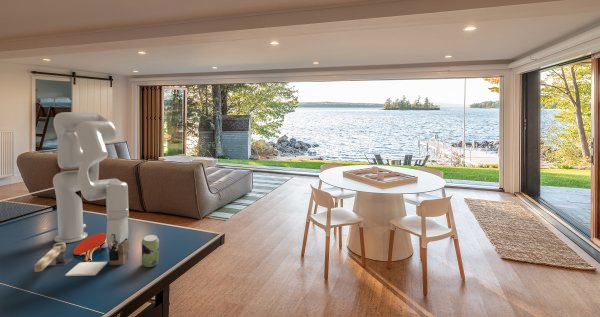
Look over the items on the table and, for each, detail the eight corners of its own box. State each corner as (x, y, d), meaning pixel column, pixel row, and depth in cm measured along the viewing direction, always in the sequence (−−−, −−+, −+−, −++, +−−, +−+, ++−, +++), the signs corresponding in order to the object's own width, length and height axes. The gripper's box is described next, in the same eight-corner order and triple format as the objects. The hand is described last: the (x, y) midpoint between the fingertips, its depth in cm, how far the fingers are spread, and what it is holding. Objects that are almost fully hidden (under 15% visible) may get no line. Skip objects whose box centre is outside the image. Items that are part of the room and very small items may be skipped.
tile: (79, 263, 127) (79, 262, 127) (107, 263, 128) (107, 261, 128) (65, 276, 117) (65, 274, 117) (95, 275, 119) (95, 273, 118)
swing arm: (56, 258, 129) (55, 243, 128) (68, 257, 130) (67, 242, 129) (31, 283, 110) (30, 265, 109) (45, 282, 111) (44, 264, 110)
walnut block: (115, 259, 132) (114, 240, 131) (128, 259, 133) (127, 240, 132) (109, 264, 127) (109, 245, 126) (123, 264, 128) (122, 245, 127)
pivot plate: (56, 259, 130) (56, 258, 130) (72, 258, 131) (72, 258, 131) (47, 265, 124) (47, 265, 124) (64, 265, 125) (64, 264, 125)
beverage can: (155, 260, 133) (154, 231, 131) (162, 266, 128) (161, 236, 126) (138, 264, 128) (138, 235, 127) (145, 271, 123) (145, 240, 122)
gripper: (116, 207, 135) (118, 247, 137) (97, 220, 118) (99, 265, 120) (135, 207, 137) (136, 246, 139) (119, 219, 120) (120, 264, 122)
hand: (119, 255), depth 129 cm, fingers open, 9 cm apart
